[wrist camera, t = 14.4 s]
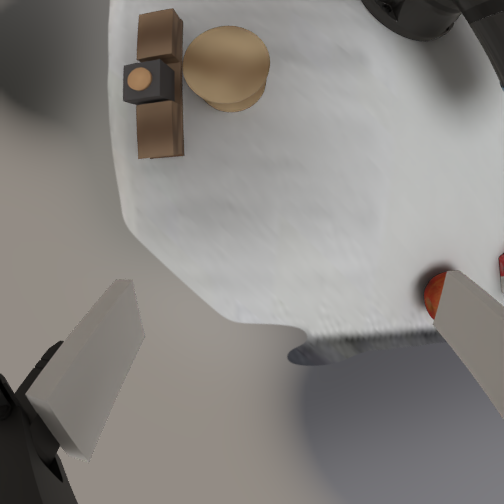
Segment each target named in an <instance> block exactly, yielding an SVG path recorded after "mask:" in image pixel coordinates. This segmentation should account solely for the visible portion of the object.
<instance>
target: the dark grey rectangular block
mask: <svg viewBox="0 0 504 504" xmlns="http://www.w3.org/2000/svg"><path fill="white" fill-rule="evenodd" d="M171 100H172V101H174V102H175V71H174V70H172V69H171V68H170V67H169V66H168V65H167V64H165V63H164V62H163V61H162V60H161V59H158V60H152V61H146V62H141V63H135V64H130V65H126V66H124V79H123V101H125V102H128V103H132V104H136V105H142V104H148V103H155V102H163V101H171Z"/></svg>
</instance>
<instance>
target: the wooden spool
mask: <svg viewBox="0 0 504 504" xmlns="http://www.w3.org/2000/svg"><path fill="white" fill-rule="evenodd" d="M182 67H183V74H184V78H185V80H186V82H187V84H188V86H189V87H190V88H191V89H192V90H193V91H194V92H195V93H196V94H197V95H199V96H200V97H201V98H203V99H204V100H205V101H206V102H207V103H208V104H209V105H210V106H212V107H213V108H215V109H217V110H220V111H224V112H238V111H242V110H245V109H247V108H249V107H251V106H252V105H254V104H255V103H256V102H257V101H258V100H259V99H260V97H261V96H262V94H263V92H264V89H265V85H266V78H267V76H268V72H269V68H270V57H269V53H268V50H267V48H266V46H265V44H264V43H263V42H262V40H261V39H260V38H259V37H258V36H257V35H255V34H254V33H252V32H251V31H249V30H246V29H244V28H240V27H236V26H221V27H216V28H213V29H210V30H208V31H206V32H204V33H202V34H200V35H199V36H198V37H197V38H195V39H194V40H193V41H192V43H191V44H190V45H189V47H188V48H187V50H186V52H185V55H184V58H183V66H182Z"/></svg>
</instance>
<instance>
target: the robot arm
mask: <svg viewBox="0 0 504 504" xmlns="http://www.w3.org/2000/svg"><path fill="white" fill-rule="evenodd" d="M362 1H363V3H364V5H365V6H366V7H367V9H368V10H369V11H370V12H371V13H372V14H373V15H374V16H375V17H376V18H377V19H378V20H379V21H380V22H381V23H382V24H384V25H385V26H386V27H388V28H389V29H391V30H392V31H394V32H396V33H398V34H400V35H402V36H404V37H407V38H409V39H413V40H418V41H430V40H434V39H436V38H439V37H441V36H443V35H445V34H446V33H447V32H449V31H450V29H451V28H452V26H453V24H454V22H455V21H456V20H457V19H458V17H459V16H460V14H461V13H462V14H463V15H464V17H465V19H466V20H467V22H468V23H469V25H470V27H471V28H472V30H473V31H474V33H475V35H476V36H477V38H478V40H479V41H480V43H481V45H482V47H483V48H484V50H485V52H486V54H487V56H488V58H489V60H490V61H491V64H492V66H493V68H494V70H495V72H496V74H497V76H498V78H499V80H500V85H501V88H502V89H503V91H504V0H362ZM501 11H502V12H501ZM498 12H499V13H498ZM490 15H491V16H490ZM487 16H488V17H487ZM482 18H483V19H482ZM433 325H434V327H435V328H436V329H437V330H438V331H439V333H440V334H441V335H442V336H443V338H444V339H445V340H446V341H447V343H448V344H449V345H450V346H451V347H452V349H453V350H454V351H455V353H456V354H457V355H458V357H459V358H460V359H461V360H462V362H463V363H464V364H465V366H466V367H467V368H468V370H469V371H470V372H471V374H472V375H473V376H474V378H475V379H476V381H477V382H478V383H479V385H480V386H481V387H482V389H483V390H484V391H485V393H486V394H487V396H488V397H489V399H490V400H491V401H492V403H493V404H494V406H495V407H496V409H497V411H498V412H499V413H500V415H501V416H502V418H503V419H504V306H502V305H501V304H500V303H499V302H498V301H497V300H495V299H494V298H493V297H492V296H491V295H489V294H488V293H487V292H486V291H485V290H483V289H482V288H481V287H480V286H478V285H477V284H476V283H475V282H473V281H472V280H471V279H470V278H468V277H467V276H466V275H464V274H463V273H462V272H461V271H459V270H457V271H447V273H446V277H445V281H444V285H443V290H442V294H441V297H440V301H439V305H438V309H437V312H436V316H435V319H434V322H433ZM144 338H145V334H144V330H143V325H142V321H141V317H140V312H139V308H138V303H137V298H136V294H135V289H134V284H133V280H122V279H119V280H117V279H116V280H115V281H114V282H113V283H112V285H111V286H110V287H109V288H108V289H107V290H106V291H105V293H104V294H103V295H102V296H101V297H100V298H99V300H98V301H97V302H96V303H95V304H94V305H93V307H92V308H91V309H90V310H89V311H88V313H87V314H86V315H85V316H84V317H83V319H82V320H81V321H80V322H79V324H78V325H77V326H76V327H75V328H74V330H73V331H72V332H71V333H70V335H69V336H68V337H67V339H66V340H65V341H59V342H57V343H56V344H55V345H53V346H52V347H50V348H49V349H48V350H47V352H46V353H45V354H44V355H43V356H42V358H41V360H40V361H39V362H38V363H37V364H36V366H35V368H33V370H32V371H31V372H30V373H29V375H28V376H27V377H26V379H25V380H24V381H23V383H22V384H21V385H20V387H19V388H18V390H17V391H16V392H15V394H14V392H13V391H12V389H11V387H10V386H9V384H8V382H7V380H6V379H5V377H4V376H3V375H2V374H0V504H78V503H77V501H76V499H75V496H74V494H73V491H72V489H71V486H70V484H69V481H68V479H67V476H66V473H65V471H64V468H63V465H62V462H61V460H60V458H59V456H58V454H57V451H58V449H59V447H60V446H61V447H62V449H63V450H64V451H65V452H66V454H67V455H68V456H70V457H73V458H76V459H79V460H82V461H86V462H90V459H91V457H92V454H93V452H94V449H95V447H96V444H97V442H98V440H99V437H100V435H101V432H102V430H103V428H104V425H105V423H106V421H107V418H108V416H109V414H110V411H111V409H112V407H113V404H114V402H115V400H116V398H117V396H118V393H119V391H120V389H121V387H122V385H123V383H124V380H125V378H126V376H127V374H128V372H129V370H130V367H131V365H132V363H133V361H134V359H135V357H136V355H137V352H138V351H139V349H140V346H141V344H142V342H143V340H144Z"/></svg>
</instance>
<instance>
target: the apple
mask: <svg viewBox="0 0 504 504" xmlns="http://www.w3.org/2000/svg"><path fill="white" fill-rule="evenodd" d="M446 273H447V272H444V273H441V274H438V275H437V276H435V277H433V278H432V279H431V280H430V281H429V282H428V284H427V286H426V288H425V291H424V300H425V305H426V308H427V311H428V313H429V315H430V316H431V318H433V319H435V316H436V312H437V309H438V305H439V301H440V297H441V294H442V290H443V285H444V281H445V277H446ZM464 275H465V274H464Z"/></svg>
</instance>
